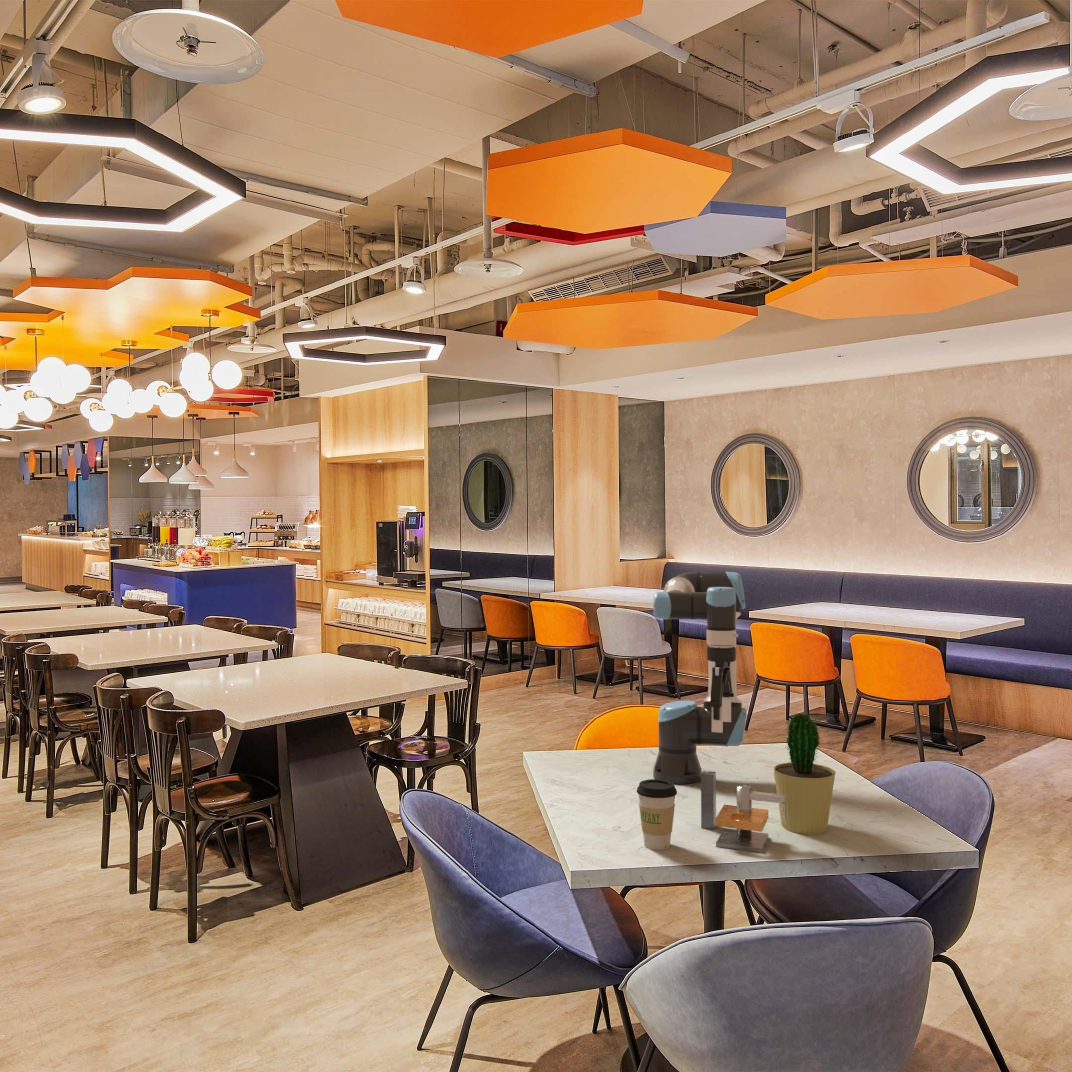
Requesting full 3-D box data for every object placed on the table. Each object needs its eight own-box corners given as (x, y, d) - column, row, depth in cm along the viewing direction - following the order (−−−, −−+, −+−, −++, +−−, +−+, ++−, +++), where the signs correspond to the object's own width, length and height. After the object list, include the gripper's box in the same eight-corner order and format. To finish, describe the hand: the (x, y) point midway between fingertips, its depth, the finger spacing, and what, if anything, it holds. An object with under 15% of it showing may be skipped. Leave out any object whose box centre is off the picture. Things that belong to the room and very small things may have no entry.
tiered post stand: (715, 846, 210) (715, 793, 210) (724, 831, 220) (724, 781, 220) (781, 855, 204) (781, 800, 204) (787, 840, 214) (786, 787, 214)
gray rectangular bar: (701, 827, 224) (700, 773, 223) (703, 823, 227) (703, 770, 226) (713, 829, 222) (713, 775, 222) (716, 825, 225) (715, 771, 225)
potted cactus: (827, 841, 213) (827, 720, 213) (765, 830, 221) (765, 713, 221) (841, 823, 226) (841, 709, 226) (783, 813, 234) (782, 703, 234)
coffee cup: (633, 838, 216) (632, 778, 216) (671, 837, 217) (671, 777, 217) (641, 853, 206) (641, 790, 206) (681, 852, 207) (681, 789, 207)
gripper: (728, 652, 214) (728, 738, 214) (742, 641, 237) (743, 718, 237) (697, 651, 217) (698, 735, 217) (715, 640, 240) (715, 716, 240)
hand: (721, 726), depth 227 cm, fingers open, 13 cm apart
